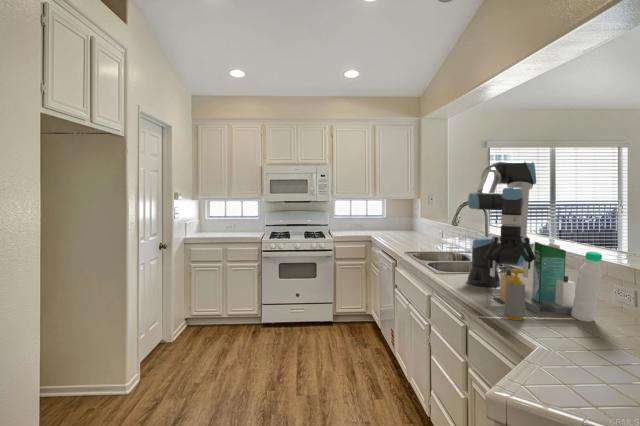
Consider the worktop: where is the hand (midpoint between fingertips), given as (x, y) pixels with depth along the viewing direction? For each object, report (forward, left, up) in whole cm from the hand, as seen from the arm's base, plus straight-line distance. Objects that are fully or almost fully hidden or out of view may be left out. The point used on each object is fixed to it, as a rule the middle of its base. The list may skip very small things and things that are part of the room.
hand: (508, 276), depth 160 cm
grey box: (+12, +14, -11) cm, 21 cm away
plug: (0, 0, -10) cm, 10 cm away
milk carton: (-2, +17, -11) cm, 21 cm away
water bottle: (+19, +18, -11) cm, 28 cm away
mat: (0, 0, -11) cm, 11 cm away
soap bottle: (+20, -7, -11) cm, 24 cm away
